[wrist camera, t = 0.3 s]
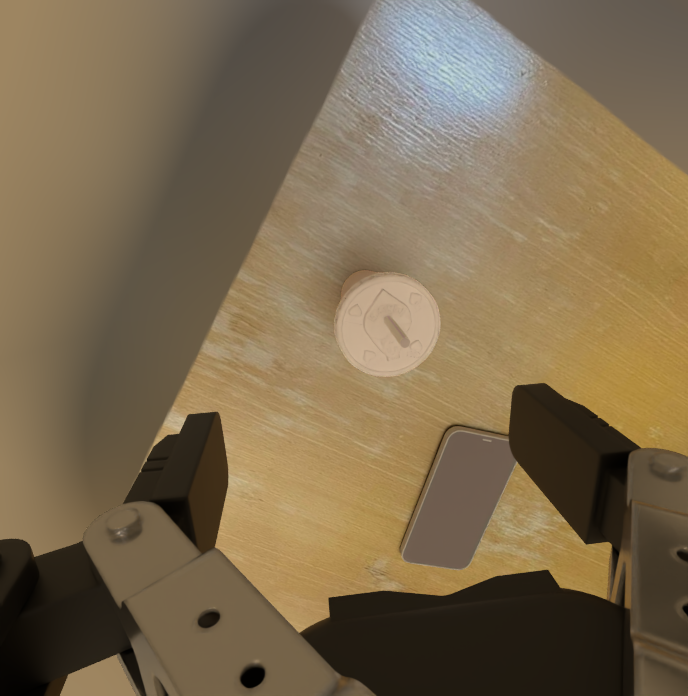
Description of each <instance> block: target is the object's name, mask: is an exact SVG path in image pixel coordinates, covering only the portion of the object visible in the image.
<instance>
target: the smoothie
mask: <svg viewBox="0 0 688 696" xmlns="http://www.w3.org/2000/svg"><path fill="white" fill-rule="evenodd" d="M440 324H441V321H440V313H439V309H438V306H437V303H436V301H435V299H434V298H433V296H432V295H431V293H430V292H429V291H428V290H427V289H426V288H425V287H424V286H423V285H422V284H421V283H420V282H419V281H418V280H416V279H414V278H412V277H410V276H408V275H406V274H401V273H396V272H381V273H378V272H374V271H370V270H360V271H357V272H355V273H353V274H351V275H350V276H349V277H348V278H347V279H346V280H345V282H344V284H343V287H342V291H341V301H340V303H339V305H338V307H337V309H336V314H335V319H334V332H335V338H336V340H337V343H338V346H339V348H340V350H341V351H342V353H343V355H344V356H345V358H346V359H347V360H348V361H349V362H350V363H351V364H352V365H353V366H354V367H355V368H357V369H358V370H360V371H362V372H364V373H366V374H369V375H373V376H378V377H392V376H397V375H401V374H404V373H407V372H409V371H411V370H413V369H414V368H416V367H417V366H419V365H420V364H421V363H422V362H423V361H424V360H425V359H426V358H427V357H428V356H429V355H430V353H431V352H432V350H433V349H434V347H435V345H436V343H437V340H438V337H439V333H440Z"/></svg>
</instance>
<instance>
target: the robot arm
mask: <svg viewBox="0 0 688 696" xmlns="http://www.w3.org/2000/svg"><path fill="white" fill-rule="evenodd" d="M509 446H510V450H511V453H512V455H513V457H514V458H515V460H516V461H517V462H518V463H519V464H520V466H521V467H522V468H523V469H524V471H525V472H526V473H527V474H528V475H529V477H530V478H531V479H532V480H533V481H534V483H535V484H536V485H537V486H538V487H539V489H540V490H541V491H542V492H543V493H544V495H545V496H546V497H547V498H548V499H549V501H550V502H551V503H552V504H553V505H554V507H555V508H556V509H557V510H558V511H559V513H560V514H561V515H562V516H563V517H564V519H565V520H566V521H567V522H568V523H569V525H570V526H571V527H572V528H573V529H574V531H575V532H576V533H577V534H578V535H579V537H580V538H581V539H582V540H583V541H584V543H585V544H594V543H602V542H610V543H611V544H612V548H611V553H610V559H609V573H608V588H607V600H606V599H603V598H600V597H598V596H595V595H591V594H588V593H584V592H581V591H576V590H571V589H565V588H560V587H559V585H558V584H557V582H556V581H555V579H554V578H553V576H552V575H551V573H550V572H549V571H548V570H542V571H534V572H526V573H518V574H511V575H503V576H495V577H493V578H490V579H488V580H485V581H483V582H480V583H478V584H475V585H473V586H470V587H468V588H465V589H463V590H460V591H458V592H455V593H453V594H450V595H446V596H436V595H426V594H415V593H404V592H393V591H378V592H370V593H362V594H354V595H346V596H338V597H331V598H329V612H330V617H329V618H326V619H324V620H322V621H319V622H317V623H315V624H314V625H312V626H310V627H308V628H306V629H305V630H303V631H302V632H300V633H298V632H297V631H296V629H295V628H294V627H293V626H292V625H291V624H290V623H289V622H288V621H287V620H286V619H285V618H284V617H283V616H282V615H281V614H280V613H279V612H278V611H277V610H276V609H275V607H274V606H273V605H272V604H271V603H270V602H269V601H268V600H267V599H266V598H265V597H264V596H263V595H262V594H261V593H260V592H259V591H258V590H257V589H256V588H255V587H254V585H253V584H252V583H251V582H250V581H249V580H248V579H247V578H246V577H245V576H244V575H243V574H242V573H241V572H240V571H239V570H238V569H237V568H236V567H235V566H234V565H233V564H232V562H231V561H230V560H229V559H228V558H227V557H226V556H225V555H224V554H223V553H222V552H221V551H220V550H218V549H217V548H215V544H216V539H217V534H218V530H219V525H220V520H221V516H222V511H223V507H224V502H225V497H226V493H227V488H228V464H227V457H226V450H225V444H224V437H223V431H222V424H221V419H220V415H219V413H218V412H210V413H199V414H189V415H188V416H187V418H186V420H185V422H184V425H183V427H182V429H181V431H180V433H179V434H173V435H167V436H166V437H165V438H164V439H162V440H161V441H160V442H159V443H158V444H156V445H155V446H154V447H153V449H152V451H151V453H150V455H149V456H148V458H147V462H145V464H144V466H143V468H142V469H141V472H140V473H139V475H138V477H137V479H136V481H135V482H134V484H133V486H132V488H131V490H130V492H129V494H128V495H127V497H126V499H125V501H124V503H123V505H120V506H117V507H115V508H112V509H110V510H108V511H106V512H105V513H103V514H102V515H100V516H99V517H97V518H96V519H95V520H94V521H93V522H92V523H91V524H90V525H89V526H88V527H87V529H86V531H85V532H84V536H83V541H81V542H79V543H77V544H74V545H71V546H68V547H65V548H62V549H58V550H55V551H52V552H49V553H46V554H43V555H40V556H36V557H34V555H33V552H32V549H31V547H30V545H29V544H28V543H27V542H25V541H23V540H20V539H4V540H0V696H60V693H61V691H62V689H63V686H64V684H65V681H66V679H67V676H68V674H70V673H72V672H75V671H77V670H80V669H82V668H84V667H87V666H89V665H92V664H94V663H96V662H99V661H101V660H104V659H106V658H109V657H111V656H113V655H117V658H118V660H119V662H120V664H121V666H122V668H123V670H124V672H125V674H126V676H127V678H128V680H129V681H130V684H131V686H132V688H133V690H134V692H135V694H136V696H688V457H687V456H684V455H682V454H679V453H676V452H673V451H669V450H664V449H657V448H640V447H639V446H638V445H636V444H635V443H634V442H632V441H631V440H630V439H628V438H627V437H625V436H624V435H623V434H621V433H620V432H619V431H617V430H616V429H615V428H613V427H612V426H609V424H608V423H606V422H605V421H604V420H602V419H601V418H598V416H597V415H596V414H594V413H593V412H591V411H590V410H589V409H587V408H586V407H585V406H583V405H580V404H578V403H575V402H573V401H571V400H568V399H566V398H564V397H563V396H561V395H560V394H559V393H557V392H556V391H555V390H553V389H552V388H551V387H550V386H548V385H547V384H545V383H539V384H528V385H517V386H516V387H515V388H514V390H513V393H512V402H511V413H510V425H509Z"/></svg>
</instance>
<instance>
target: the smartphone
mask: <svg viewBox="0 0 688 696" xmlns="http://www.w3.org/2000/svg"><path fill="white" fill-rule="evenodd" d="M516 464H517V461H516V460H515V458H514V457H513V455H512V453H511V450H510V446H509V436H504V435H500V434H495V433H490V432H485V431H480V430H476V429H471V428H466V427H461V426H455V427H452V428H450V429H449V430H448V431H447V432H446V433H445V435H444V438H443V440H442V443H441V445H440V448H439V450H438V453H437V455H436V458H435V460H434V463H433V466H432V468H431V471H430V473H429V476H428V478H427V481H426V483H425V486H424V488H423V491H422V493H421V496H420V499H419V501H418V504H417V506H416V509H415V511H414V514H413V516H412V519H411V521H410V524H409V527H408V529H407V532H406V534H405V537H404V539H403V542H402V544H401V547H400V552H401V556H402V559H403V560H404V561H405V562H407V563H411V564H418V565H425V566H432V567H439V568H446V569H453V570H462V569H465V568H467V567H468V566H469V565H470V564H471V562H472V560H473V557H474V555H475V553H476V551H477V549H478V547H479V544H480V542H481V540H482V538H483V536H484V533H485V531H486V529H487V527H488V525H489V523H490V520H491V518H492V516H493V514H494V512H495V509H496V507H497V505H498V503H499V501H500V499H501V496H502V494H503V492H504V490H505V488H506V485H507V483H508V481H509V479H510V477H511V475H512V472H513V470H514V468H515V466H516Z"/></svg>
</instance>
